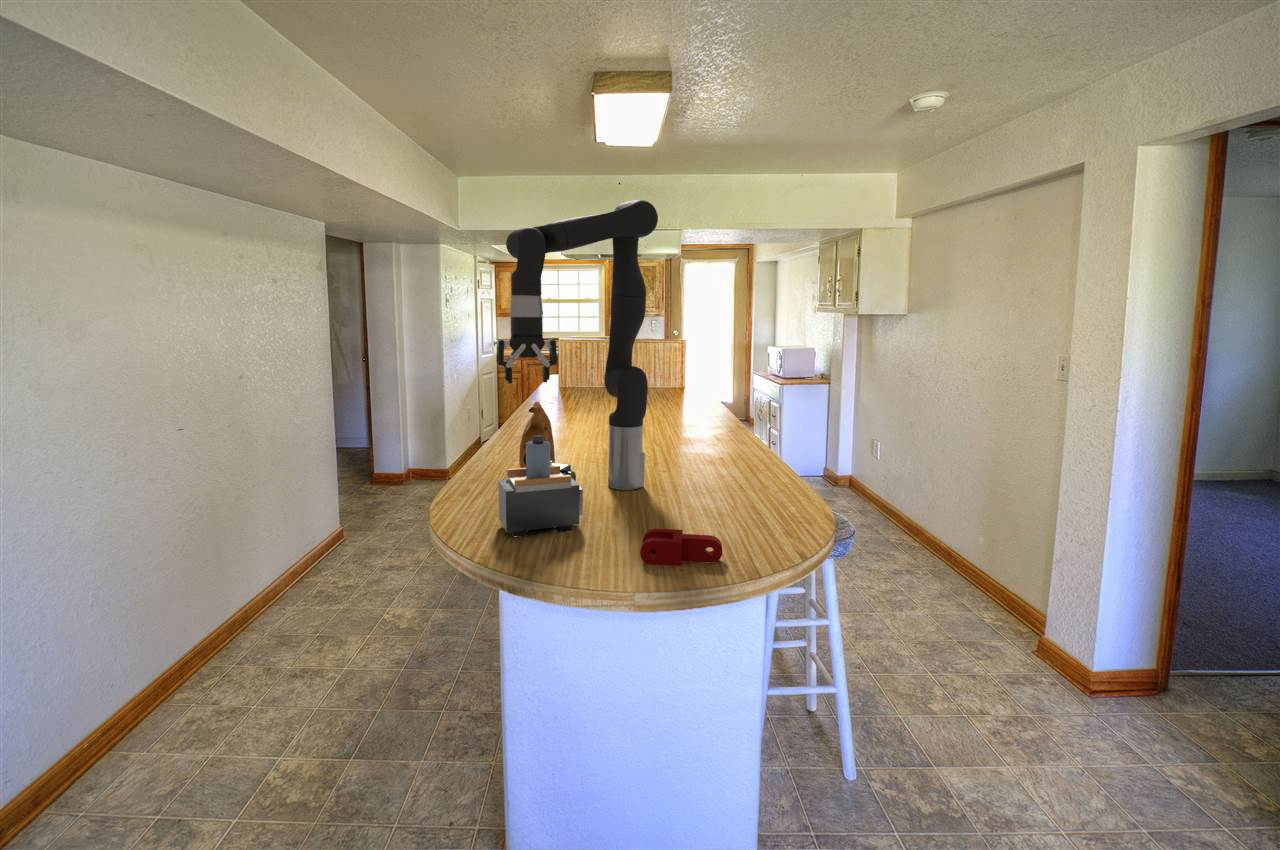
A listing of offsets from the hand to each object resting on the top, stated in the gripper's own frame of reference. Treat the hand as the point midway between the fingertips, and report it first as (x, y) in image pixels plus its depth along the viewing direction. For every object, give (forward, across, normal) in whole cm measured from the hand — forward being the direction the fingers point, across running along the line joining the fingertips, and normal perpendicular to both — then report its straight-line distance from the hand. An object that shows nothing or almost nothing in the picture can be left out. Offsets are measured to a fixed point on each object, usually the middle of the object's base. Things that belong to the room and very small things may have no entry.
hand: (527, 382), depth 159 cm
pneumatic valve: (+30, -4, +7) cm, 31 cm away
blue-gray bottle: (+19, +2, +20) cm, 27 cm away
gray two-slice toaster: (+30, +2, +20) cm, 36 cm away
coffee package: (+30, -6, -17) cm, 35 cm away
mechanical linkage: (+30, -21, +46) cm, 59 cm away
